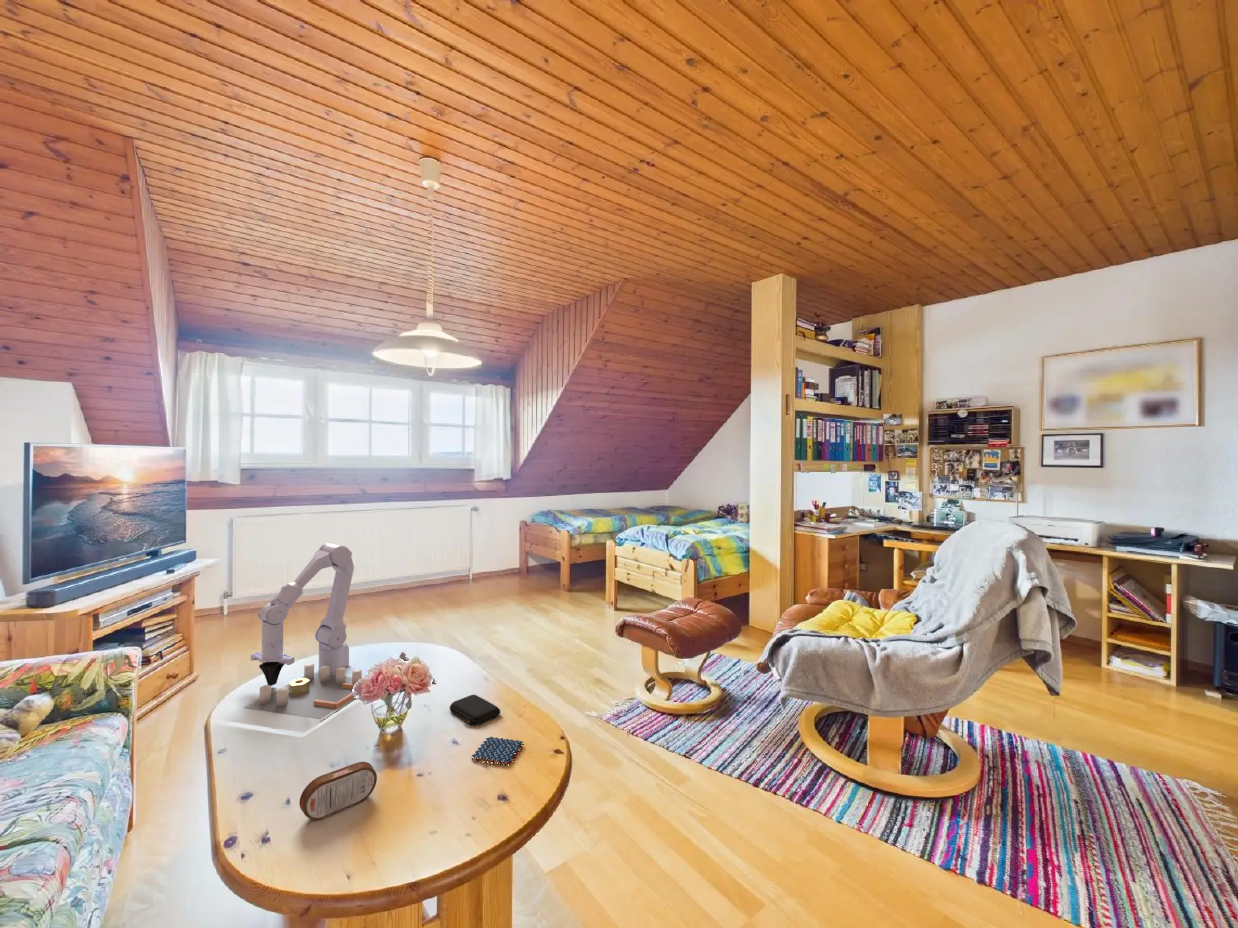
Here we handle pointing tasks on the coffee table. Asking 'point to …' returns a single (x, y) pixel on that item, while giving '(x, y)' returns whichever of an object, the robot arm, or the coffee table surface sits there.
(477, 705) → the carrying case or bag
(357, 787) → the tin
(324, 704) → the parts bay
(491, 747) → the woven mat
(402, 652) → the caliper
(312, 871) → the coffee table surface
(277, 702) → the plate
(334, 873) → the coffee table surface
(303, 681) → the brass nut
